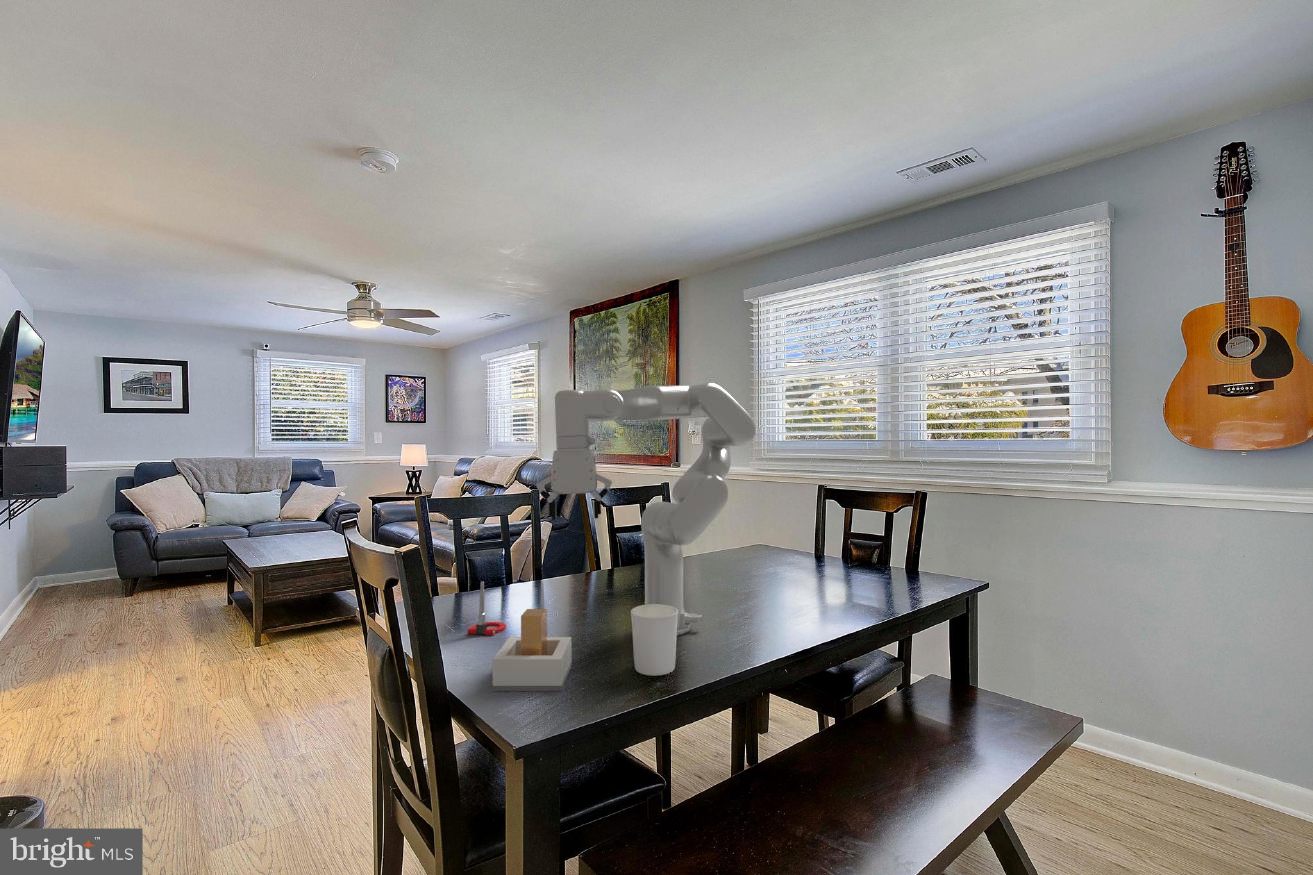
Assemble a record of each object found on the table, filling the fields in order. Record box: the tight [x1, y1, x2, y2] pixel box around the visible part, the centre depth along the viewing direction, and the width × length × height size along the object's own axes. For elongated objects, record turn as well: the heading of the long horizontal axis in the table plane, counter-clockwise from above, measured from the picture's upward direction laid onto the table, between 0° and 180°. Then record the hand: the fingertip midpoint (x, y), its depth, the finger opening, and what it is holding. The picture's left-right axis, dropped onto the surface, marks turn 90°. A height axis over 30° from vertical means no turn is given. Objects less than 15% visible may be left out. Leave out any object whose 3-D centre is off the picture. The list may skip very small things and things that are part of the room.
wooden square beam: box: [520, 608, 548, 656], centre depth 124 cm, size 4×5×12 cm
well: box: [492, 636, 572, 692], centre depth 124 cm, size 13×13×6 cm
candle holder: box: [630, 604, 678, 677], centre depth 129 cm, size 10×10×12 cm
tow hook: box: [467, 581, 507, 636], centre depth 156 cm, size 8×13×9 cm
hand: (575, 518), depth 143 cm, fingers open, 9 cm apart
